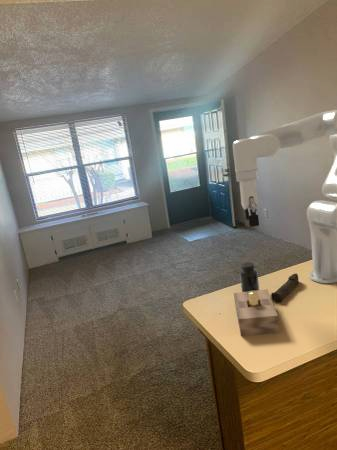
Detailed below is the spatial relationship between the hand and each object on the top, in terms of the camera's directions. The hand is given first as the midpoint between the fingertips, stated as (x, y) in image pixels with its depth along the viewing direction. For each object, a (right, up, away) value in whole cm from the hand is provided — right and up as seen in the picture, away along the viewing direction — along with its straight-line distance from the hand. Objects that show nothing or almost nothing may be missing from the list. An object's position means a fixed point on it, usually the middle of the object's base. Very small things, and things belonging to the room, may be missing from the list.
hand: (252, 222), depth 119 cm
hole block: (0, -33, -6) cm, 34 cm away
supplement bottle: (+3, -28, +14) cm, 31 cm away
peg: (0, -33, -6) cm, 34 cm away
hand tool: (+16, -27, +9) cm, 33 cm away
